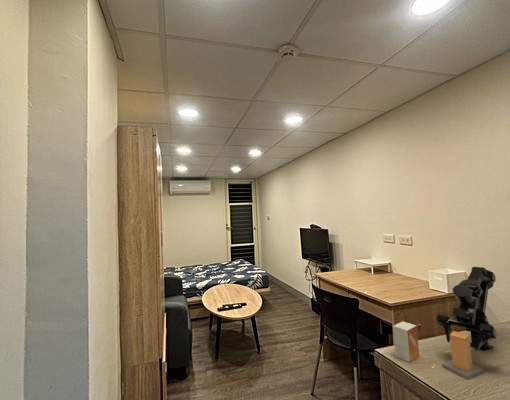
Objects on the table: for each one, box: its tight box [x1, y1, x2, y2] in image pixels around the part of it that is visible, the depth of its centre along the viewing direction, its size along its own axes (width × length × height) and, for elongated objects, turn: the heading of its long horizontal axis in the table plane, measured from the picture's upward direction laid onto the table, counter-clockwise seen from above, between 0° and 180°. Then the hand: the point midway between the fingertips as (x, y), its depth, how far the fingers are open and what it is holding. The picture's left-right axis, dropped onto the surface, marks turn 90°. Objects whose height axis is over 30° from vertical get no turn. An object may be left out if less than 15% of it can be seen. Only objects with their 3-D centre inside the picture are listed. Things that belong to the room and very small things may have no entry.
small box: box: [392, 320, 420, 363], centre depth 115 cm, size 8×6×13 cm
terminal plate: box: [441, 360, 485, 380], centre depth 103 cm, size 10×9×4 cm
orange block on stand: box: [449, 330, 473, 372], centre depth 103 cm, size 5×5×12 cm
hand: (462, 345), depth 105 cm, fingers open, 9 cm apart
